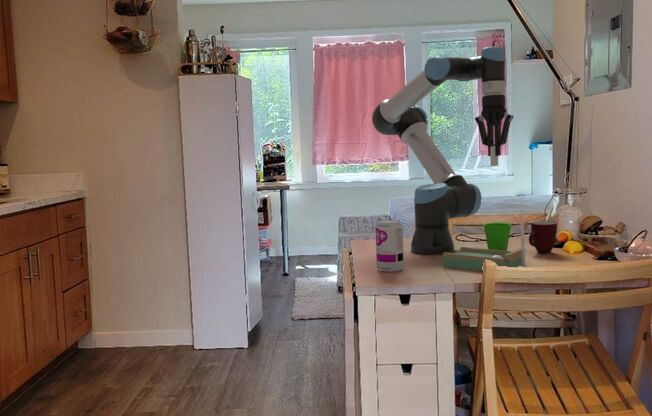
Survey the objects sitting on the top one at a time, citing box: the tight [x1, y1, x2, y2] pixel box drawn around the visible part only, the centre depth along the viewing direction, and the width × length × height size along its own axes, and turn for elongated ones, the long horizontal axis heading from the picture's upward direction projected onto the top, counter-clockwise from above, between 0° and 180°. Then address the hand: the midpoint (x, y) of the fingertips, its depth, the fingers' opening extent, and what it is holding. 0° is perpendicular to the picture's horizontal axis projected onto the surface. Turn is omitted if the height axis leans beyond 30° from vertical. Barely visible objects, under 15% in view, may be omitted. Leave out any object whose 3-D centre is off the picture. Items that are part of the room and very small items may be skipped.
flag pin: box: [520, 221, 528, 267], centre depth 174 cm, size 2×4×14 cm, turn 139°
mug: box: [528, 220, 558, 255], centre depth 196 cm, size 10×8×10 cm
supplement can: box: [375, 219, 405, 273], centre depth 181 cm, size 8×8×15 cm
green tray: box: [442, 246, 526, 272], centre depth 180 cm, size 21×12×5 cm, turn 49°
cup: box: [482, 221, 512, 251], centre depth 192 cm, size 9×9×11 cm
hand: (494, 165), depth 199 cm, fingers closed
